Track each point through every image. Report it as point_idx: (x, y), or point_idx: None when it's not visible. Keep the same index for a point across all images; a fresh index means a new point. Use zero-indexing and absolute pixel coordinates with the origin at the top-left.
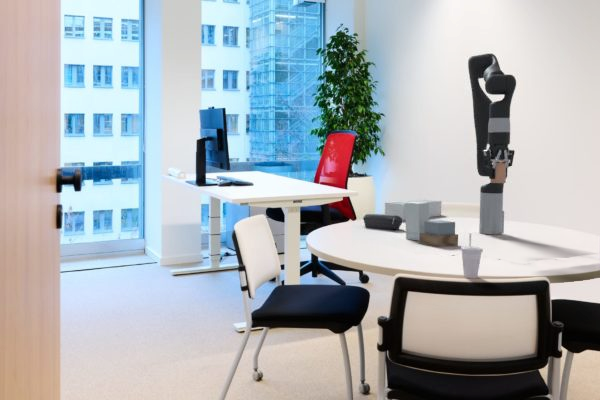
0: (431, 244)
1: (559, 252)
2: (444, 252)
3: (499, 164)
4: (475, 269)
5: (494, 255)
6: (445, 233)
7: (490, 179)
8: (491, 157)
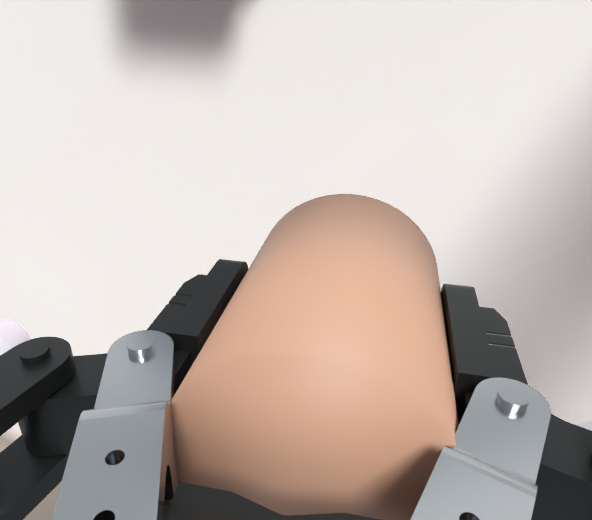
0: None
1: None
2: (70, 93)
3: None
4: None
5: (209, 252)
6: None
7: (275, 231)
8: (107, 512)
